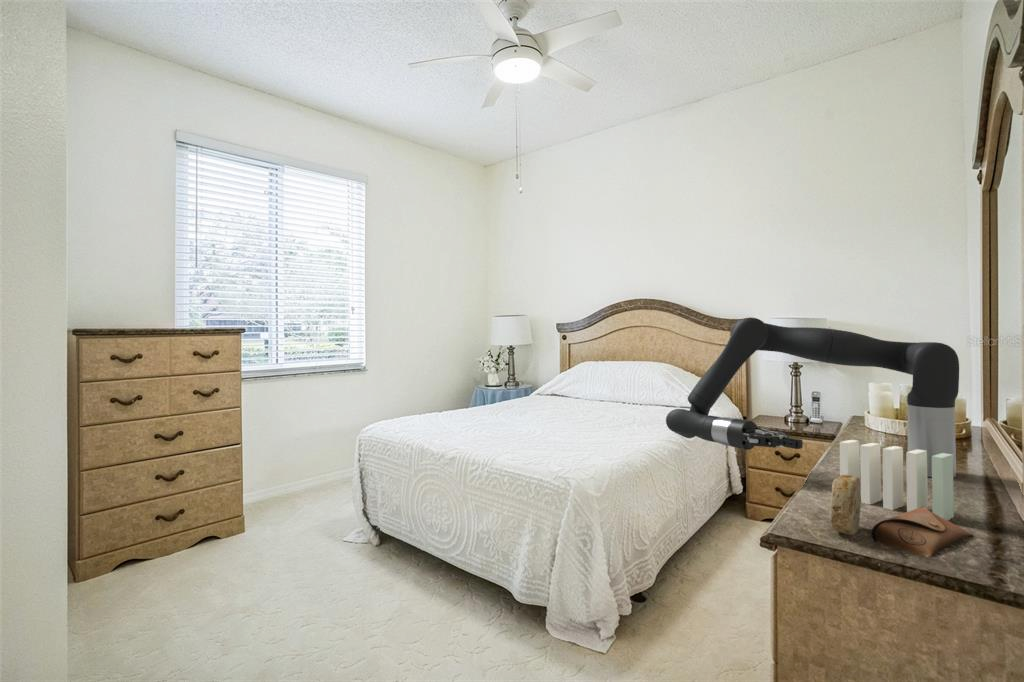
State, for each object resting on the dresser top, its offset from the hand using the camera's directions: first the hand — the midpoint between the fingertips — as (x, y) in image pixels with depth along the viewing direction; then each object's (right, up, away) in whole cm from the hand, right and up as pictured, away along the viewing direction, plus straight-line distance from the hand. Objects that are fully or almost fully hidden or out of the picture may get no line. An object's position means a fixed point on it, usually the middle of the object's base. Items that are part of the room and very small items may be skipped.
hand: (800, 444), depth 116 cm
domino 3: (+10, -9, -16) cm, 21 cm away
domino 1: (+6, -9, -9) cm, 14 cm away
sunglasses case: (+3, -10, -31) cm, 33 cm away
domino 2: (+8, -9, -12) cm, 17 cm away
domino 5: (+14, -9, -22) cm, 28 cm away
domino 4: (+12, -9, -19) cm, 24 cm away
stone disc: (-9, -10, -28) cm, 31 cm away
